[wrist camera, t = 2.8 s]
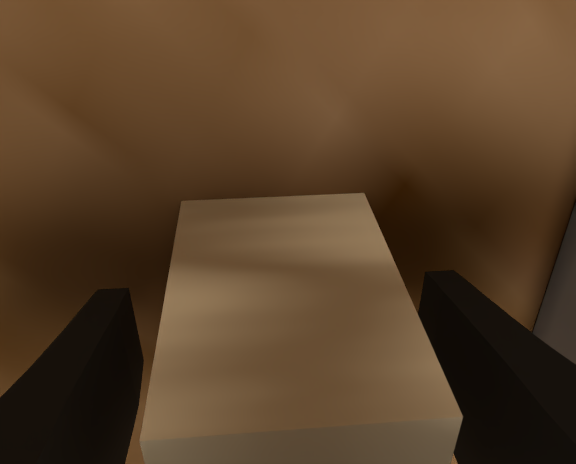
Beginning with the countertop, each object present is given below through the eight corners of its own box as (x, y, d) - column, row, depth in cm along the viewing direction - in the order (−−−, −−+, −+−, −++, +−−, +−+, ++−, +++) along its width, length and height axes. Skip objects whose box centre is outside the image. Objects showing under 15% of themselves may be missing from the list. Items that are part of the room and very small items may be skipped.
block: (198, 337, 14) (177, 598, 8) (181, 200, 11) (139, 440, 6) (352, 327, 14) (420, 575, 9) (364, 192, 12) (463, 416, 7)
